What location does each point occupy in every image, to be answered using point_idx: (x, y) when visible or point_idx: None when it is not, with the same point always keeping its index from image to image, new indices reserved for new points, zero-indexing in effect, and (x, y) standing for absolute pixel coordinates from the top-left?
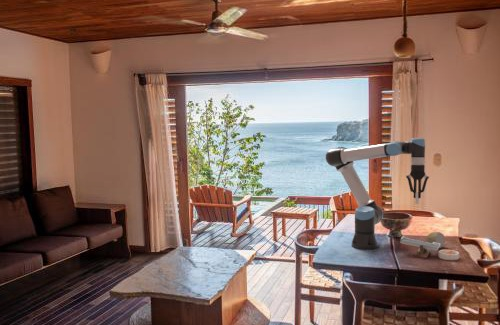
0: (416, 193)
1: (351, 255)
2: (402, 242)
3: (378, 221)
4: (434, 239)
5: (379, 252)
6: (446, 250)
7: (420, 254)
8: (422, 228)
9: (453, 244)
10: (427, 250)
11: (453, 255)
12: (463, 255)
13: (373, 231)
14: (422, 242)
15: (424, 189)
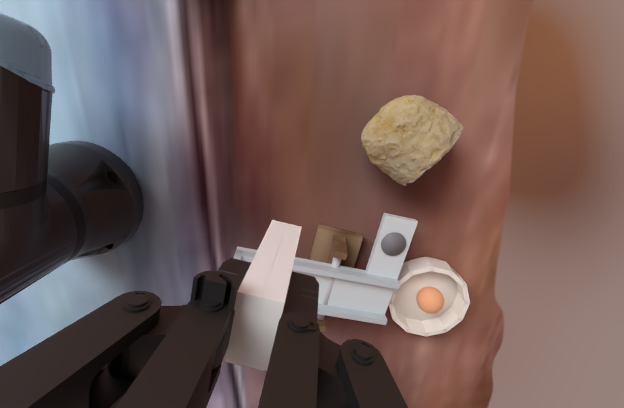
0: (241, 360)
1: None
2: None
3: (47, 139)
4: (397, 181)
5: (164, 274)
6: (426, 270)
7: None
8: None
9: (504, 64)
10: (350, 251)
11: (438, 331)
12: (491, 251)
13: (76, 244)
14: (328, 274)
15: (392, 400)
